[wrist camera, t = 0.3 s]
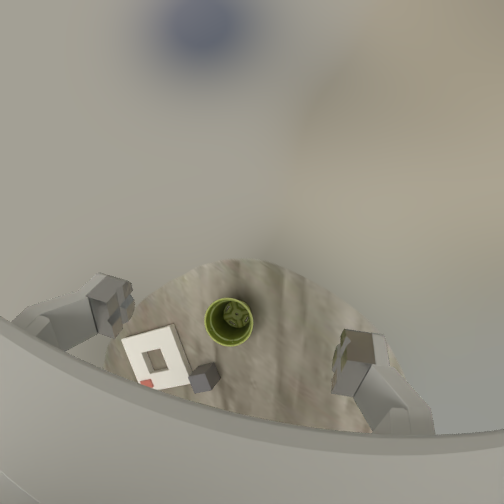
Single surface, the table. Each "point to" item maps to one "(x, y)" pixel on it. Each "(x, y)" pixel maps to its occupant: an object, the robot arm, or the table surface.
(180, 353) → the socket plate
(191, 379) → the plug
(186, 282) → the table surface
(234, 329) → the plant pot
